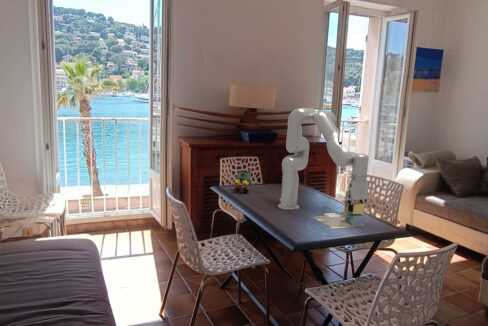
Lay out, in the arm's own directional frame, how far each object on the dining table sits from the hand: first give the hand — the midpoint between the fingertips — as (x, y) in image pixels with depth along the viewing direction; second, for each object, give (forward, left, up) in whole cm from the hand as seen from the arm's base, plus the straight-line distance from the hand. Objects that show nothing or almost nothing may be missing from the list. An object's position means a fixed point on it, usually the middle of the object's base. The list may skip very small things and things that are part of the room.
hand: (355, 210), depth 203 cm
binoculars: (-78, -31, -8) cm, 84 cm away
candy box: (-12, +8, -8) cm, 17 cm away
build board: (-5, -6, -8) cm, 12 cm away
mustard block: (0, 0, -1) cm, 1 cm away
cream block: (-2, -13, -7) cm, 15 cm away
